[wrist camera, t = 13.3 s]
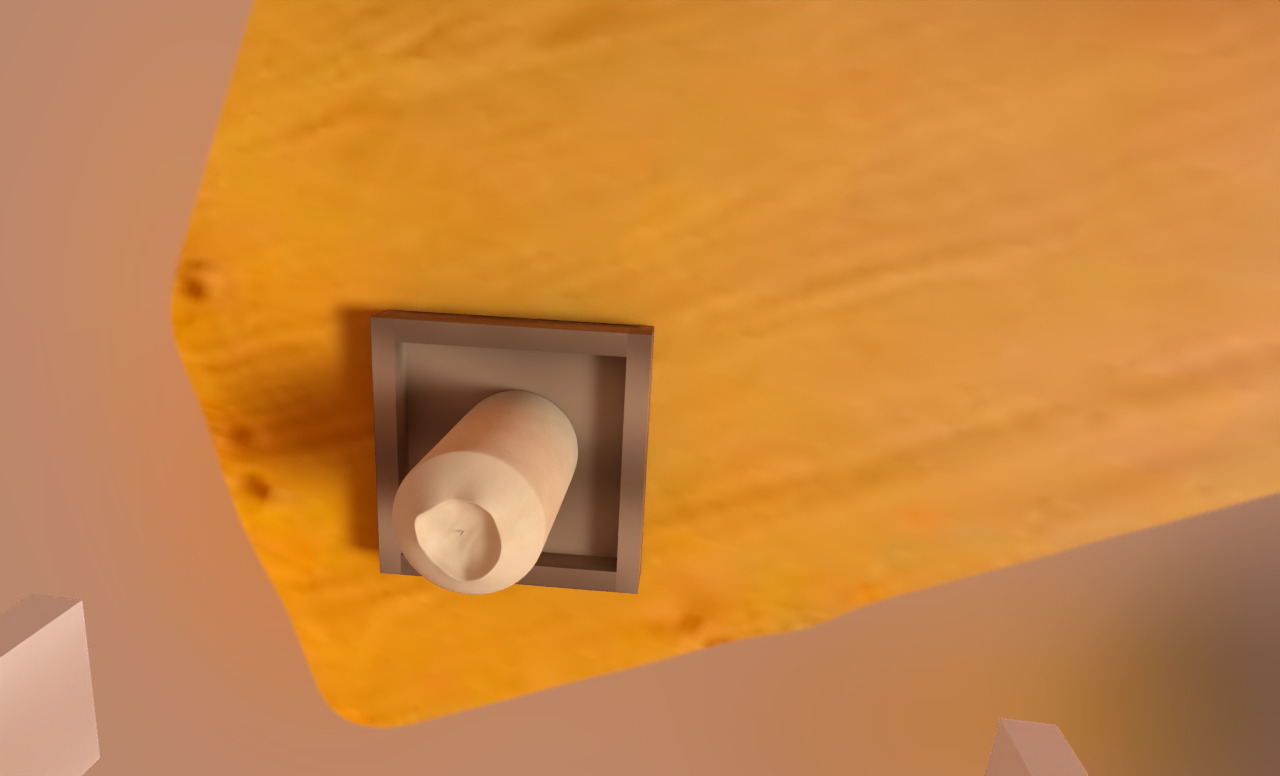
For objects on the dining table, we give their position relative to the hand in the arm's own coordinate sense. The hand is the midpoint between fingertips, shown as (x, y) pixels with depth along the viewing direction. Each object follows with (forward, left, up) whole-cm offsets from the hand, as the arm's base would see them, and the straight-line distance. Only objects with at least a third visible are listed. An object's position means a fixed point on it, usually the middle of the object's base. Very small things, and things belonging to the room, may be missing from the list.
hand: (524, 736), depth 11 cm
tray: (+5, -6, -25) cm, 26 cm away
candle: (+4, -5, -25) cm, 25 cm away
